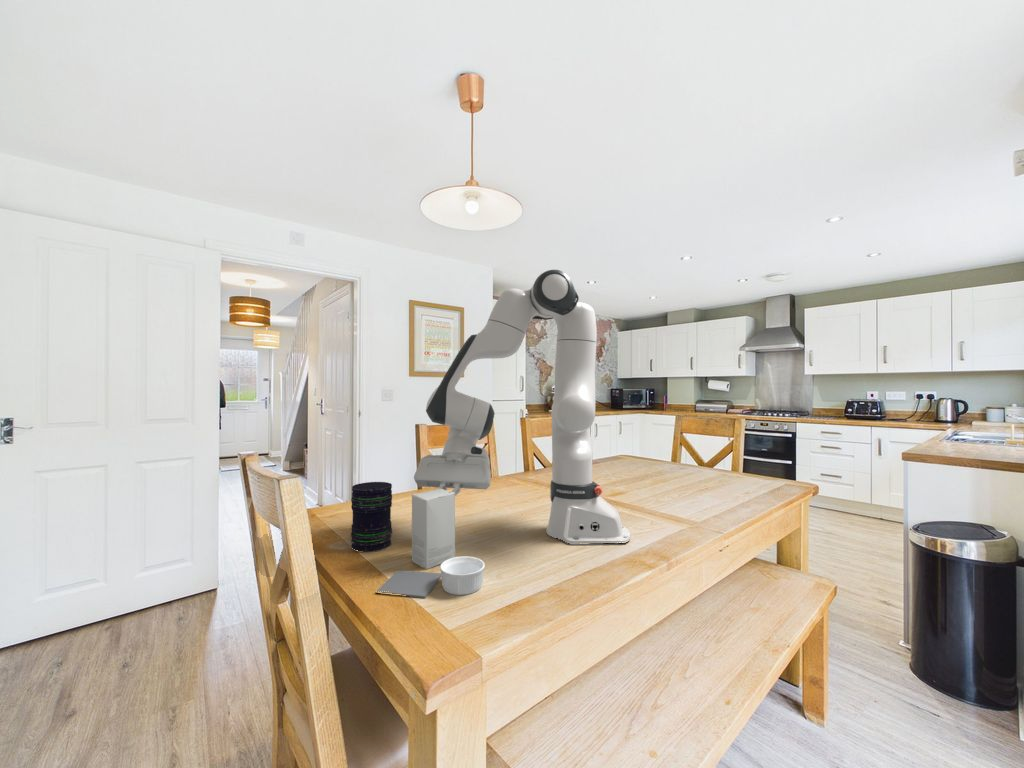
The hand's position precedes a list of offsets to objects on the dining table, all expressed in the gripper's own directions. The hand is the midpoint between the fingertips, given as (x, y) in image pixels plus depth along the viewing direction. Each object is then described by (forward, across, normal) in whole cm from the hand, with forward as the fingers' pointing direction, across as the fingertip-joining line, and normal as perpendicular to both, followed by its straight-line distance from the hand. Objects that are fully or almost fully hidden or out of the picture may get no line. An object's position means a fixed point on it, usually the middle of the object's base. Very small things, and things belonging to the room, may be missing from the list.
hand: (446, 500), depth 106 cm
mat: (+23, 0, -7) cm, 24 cm away
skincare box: (+15, 0, +2) cm, 15 cm away
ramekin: (+23, +10, -6) cm, 25 cm away
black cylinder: (+10, -19, +7) cm, 22 cm away
